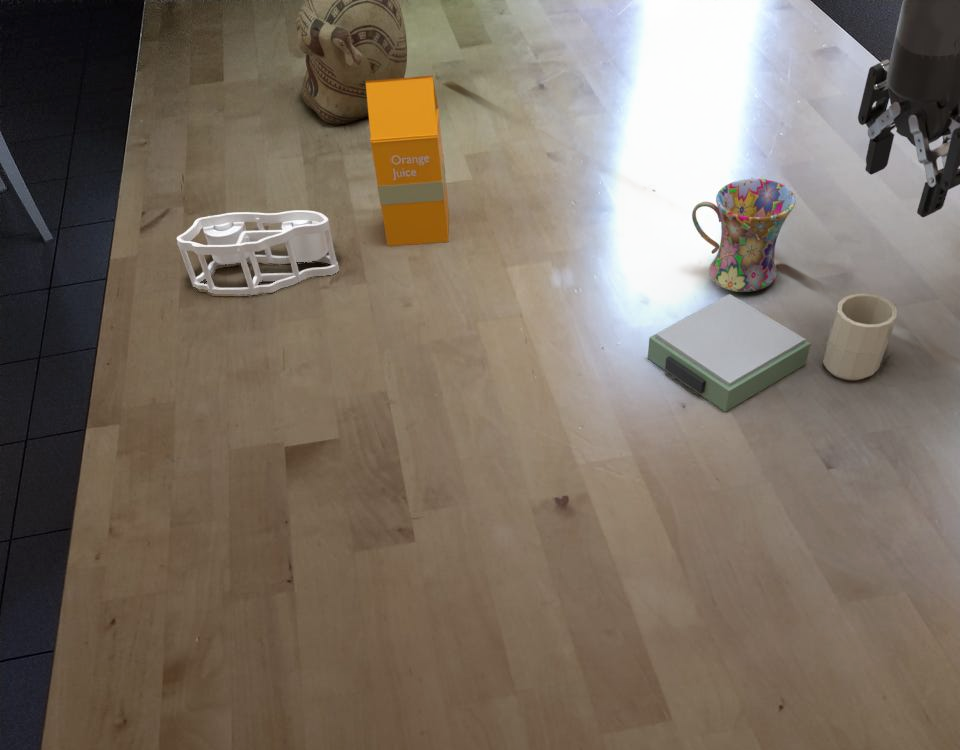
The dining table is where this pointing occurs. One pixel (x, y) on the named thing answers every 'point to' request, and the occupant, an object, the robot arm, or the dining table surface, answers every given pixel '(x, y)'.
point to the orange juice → (408, 159)
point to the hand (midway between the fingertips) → (900, 190)
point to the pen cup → (859, 336)
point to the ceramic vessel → (349, 53)
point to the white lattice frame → (260, 248)
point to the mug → (747, 232)
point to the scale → (728, 351)
